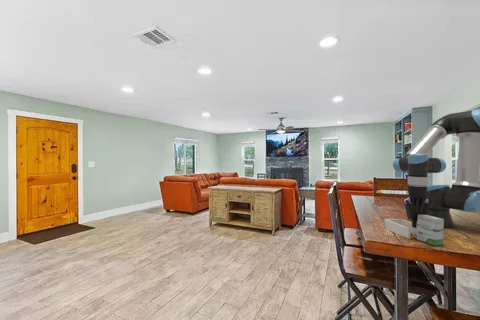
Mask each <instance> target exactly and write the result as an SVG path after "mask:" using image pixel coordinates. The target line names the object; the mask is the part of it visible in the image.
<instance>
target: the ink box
mask: <svg viewBox="0 0 480 320" xmlns="http://www.w3.org/2000/svg"><path fill="white" fill-rule="evenodd" d="M443 227H444V219H441V218H437V217H433V216H429V215H418V220H417V235H416V240H418V241H421V242H424V243H427V244H429V245H432V246H435V247H437V246H443V245H444V228H443Z"/></svg>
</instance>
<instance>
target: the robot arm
mask: <svg viewBox="0 0 480 320" xmlns="http://www.w3.org/2000/svg"><path fill="white" fill-rule="evenodd" d="M453 134H455V136H456V137H457V138H458V140H459V142H458V151H457V153H458V154H457V164H456V175H455V176H456V178H455V182H453V183H451V187H450V184H433V185H432V184H430V185H429V184H428V178H429V177H428V174H439V173H443V172H444V171H445V170H446V168H447V163H446V161H445V160H444V159H442V158H439V157H429V156H428V153H429V152H430V151H431V150H432V149H433V148H434V147H435V146H436V145H437V144H438V142H439V141H440V140H442V139H445V138H446V137H447V136H448V135H453ZM392 168H393V169H394V171H396V172H400V173H401V172H402V173H407V194H408V195H407V198H405V199H402V202H403V204H404V207H405V212H406V216H407V219H409V220H410V221H411V222H412V227H413V233H412V234H413V235H416V236H417V220H418V215H429V216H433V217H437V218H441V219H444V227H443V229H444V228H445V229H451V228H452V229H453V228H454V227H455V222H454V220H453V218H452V215H451V210H456V211H463V212H465V213H466V212H467V213H480V184H479V183H480V108H478V109H471V110H466V111H460V112H459V111H458V112H453V113H448V114H446V115H444V116H442V117H440V118H438V119H437V120H436V121H434V122H433V123H432V124H431V125H429V127H428V128H427V129H426V132H425V133H424V134H423V136H421V138H420V139H419V140H418V141H416V143H415V144H414V145H413V146H412V147H411V148H410V149H409V150H408V151H407V153H405V154H404V156H403V157H399V158H394V160H393V162H392Z"/></svg>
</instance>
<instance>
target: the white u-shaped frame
mask: <svg viewBox="0 0 480 320" xmlns="http://www.w3.org/2000/svg"><path fill="white" fill-rule="evenodd" d="M383 229H385V230H388V231H390V232H392V233H394V234H397V235H399V236H402V237H404V238H406V239H408V240H411V239H412V238H411V234H413V227H412V221H409V220H406V219H404V218H385V219H383Z"/></svg>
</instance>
